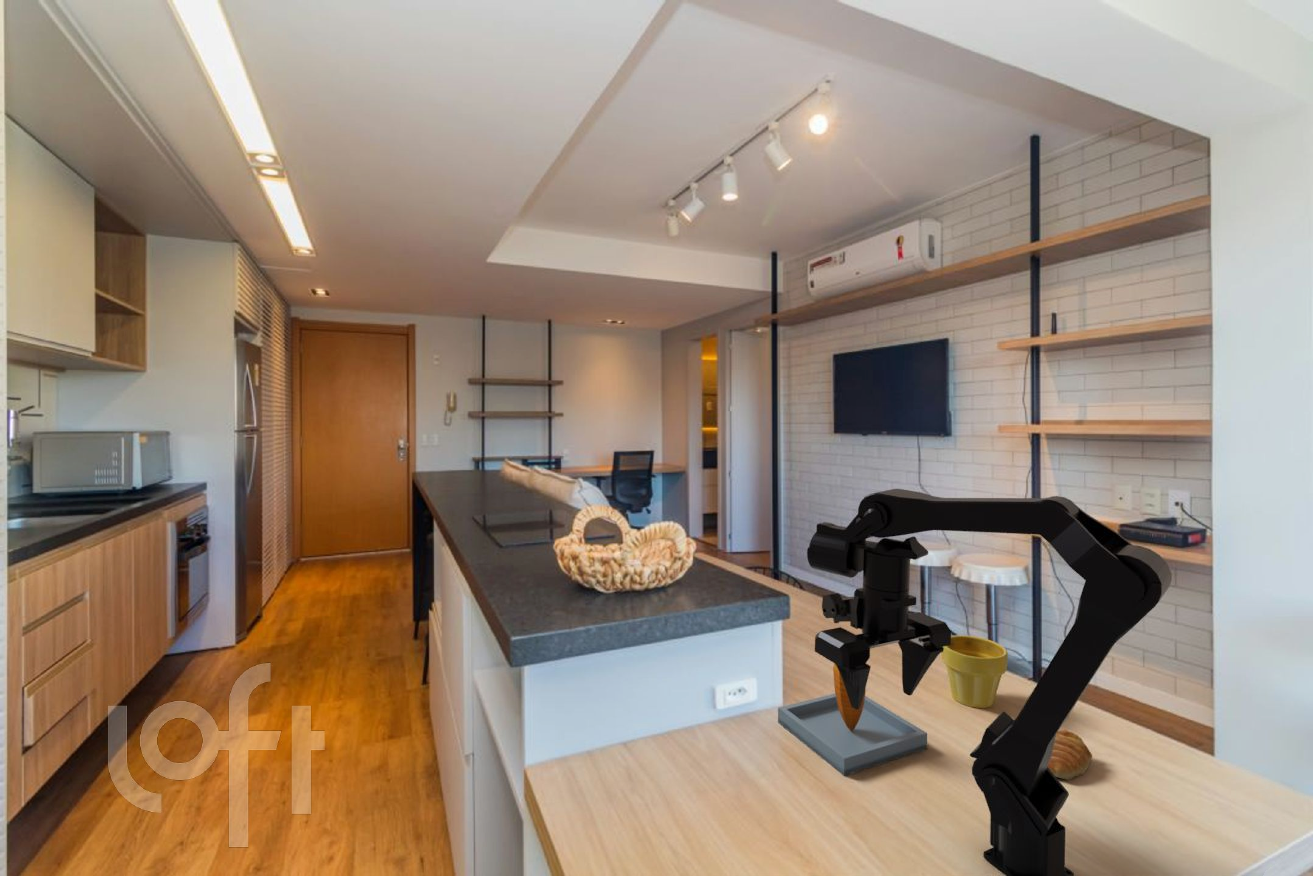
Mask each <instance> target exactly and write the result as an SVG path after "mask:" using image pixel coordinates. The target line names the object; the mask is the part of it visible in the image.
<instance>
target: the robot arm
mask: <svg viewBox="0 0 1313 876" xmlns="http://www.w3.org/2000/svg"><path fill="white" fill-rule="evenodd" d="M931 531H932V532H933V531H946V532H947V531H948V532H969V533H970V532H972V533H991V534H992V533H995V534H996V533H997V534H1016V535H1017V534H1019V535H1037V536H1040V537H1042V538H1043V539H1044V540H1045V541H1046V542H1048V543H1049V544H1050V545H1051V547H1052V548H1053V549H1054V550H1055V551H1056V553H1058V555H1059V556H1060V557H1061V558H1062V559H1063V560H1064V562H1065V563H1066V564H1067V565H1068V566H1069V568H1071V570H1072V571H1074V572H1075V573H1076V574H1077V575H1079V576H1080V578H1082V579H1083V580H1084V581H1085V582H1084V584H1083V587H1082V591H1081V594H1080V595H1079V596H1080V597H1079V600H1078V606H1077V609H1076V615H1075V619H1074V623H1073V624H1072V626H1071V628H1070V630H1069V631H1068V633H1067V635H1066V636H1065V638H1064V639H1063V640H1062V643H1061V644H1060V646H1059V648H1058V650H1057V651H1056V653H1055V654H1054V656H1053V658H1051V661H1050V662H1049V664H1048V666H1047V667H1046V669H1045V671H1044V672H1043V674H1042V675H1041V676H1040V679H1039V681H1038V682H1037V684H1036V686H1035V687H1033V689H1032V692H1031V693H1030V695H1029V696H1028V698H1027V700H1026V701H1025V704H1024V705H1023V706H1022V708H1021V710H1020V711H1019V713H1018V715H1017V716H1016V718H1014V719H1013V718H1012V717H1011V716H1010V715H1009V714H1008V713H1007V712H1006V711H1004V710H1003V711H1002V712H1001V713H1000V714H999V715H998V716H997V717H996V718H995V719H994V720H992V722H991V723H990V724H989V725H988V726H987V727H986V728H985V730H984V732H983V735H982V738H981V741H980V743H979V744H978V745H977V746H976V747H975V748H974V749H973V750H972V751H971V753H969V756H970V757H971V758H974V759H975V760H974V761H973V763H972V767H971V775H972V776H973V777H974V780H975V784H976V785H977V786H978V788H979V790H980V791H981V792H982V793H983V796H984V799H985V802H986V805H987V807H988V811H989V815H990V818H989V819H990V822H989V829H990V830H989V845H990V846H992V847H991V848H989V849H986V850H985V851H983V858H984V859H985V860H986V861H987V862H989V863H990V864H991V865H993V866H994V867H995V868H997V869H998V870H999V871H1001V872H1002V873H1003V874H1005V875H1006V876H1075V873H1074V872H1073V871H1072V870H1071V869H1069V868H1068V867H1066V866H1065V865H1066V826H1064V825H1063V824H1061V823H1060V822H1059V820H1058V814H1059V813H1060V811H1061V809H1062V808H1063V807H1064V804H1065V803H1066V802H1067V799H1068V798H1069V795H1070V793H1069V791H1068V790H1067V789H1066V787H1064V785H1063V784H1062V783H1061V782H1060V780H1059V779H1058V777H1055V776H1054V774H1053V773H1052V772H1051V771H1050V770H1049V768H1048V764H1049V761H1050V758H1051V755H1052V751H1053V746H1054V741H1055V737H1056V734H1057V732H1058V730H1060V729H1061V727H1062V726H1063V724H1064V723H1065V722H1066V720H1067V718H1068V717H1069V715H1070V714H1071V712H1072V710H1073V709H1074V707H1075V706H1076V704H1077V703H1078V701H1079V700H1080V698H1081V697H1082V694H1084V691H1086V689H1087V687H1089V684H1090V683H1091V681H1092V679H1093V678H1094V677H1095V675H1096V673H1097V672H1098V670H1099V669H1100V667H1101V666H1102V664H1103V663H1104V661H1105V659H1106V658H1107V657H1108V654H1109V653H1110V652H1111V650H1112V649H1113V647H1114V646H1115V644H1116V643H1117V642H1118V641H1119V640H1120V639H1122V638H1123V637H1124V636H1125V635H1126V634H1127V633H1128V632H1129V631H1131V630H1132V629H1133V628H1135V627H1136V625H1137V624H1138V623H1139V622H1140V621H1141V620H1143V618H1145V617H1146V616H1147V614H1149V613H1150V612H1152V610H1153V609H1154V608H1156V606H1157V605H1158V603H1159V602H1160V601H1161V600H1162V598H1163V596H1164V595H1165V594H1166V592H1167V591H1168V590H1169V588H1170V586H1171V584H1172V581H1173V579H1172V575H1173V574H1172V571H1171V569H1170V567H1169V564H1168V563H1167V561H1166V560H1165V559H1164V558H1163V557H1162V556H1161V555H1160V554H1158V553H1157V552H1155V551H1154V550H1152V549H1150V548H1148V547H1145V546H1141V545H1137V544H1132V543H1131V542H1130V541H1129V540H1128V539H1126V538H1125V537H1124V536H1122V535H1121V534H1120V533H1118V532H1117V531H1116V530H1114V529H1112V528H1110V527H1109V526H1107V524H1104V523H1102V521H1099V519H1096V518H1094V517H1093V516H1091V515H1090V514H1088V513H1086V512H1085V511H1084V510H1083V509H1081V507H1079V506H1078V505H1076V503H1074V502H1073V501H1072V500H1071V499H1070V498H1067V497H1064V496H1059V495H1054V496H1049V497H1043V498H1042V497H1036V498H1035V497H1027V498H1026V497H1025V498H1024V497H1015V498H1014V497H941V496H935V495H932V494H928V493H924V492H921V491H916V490H915V491H914V490H909V489H903V488H893V489H886V490H883V491H877V492H871V493H868V494H866V495H865V496H864V497H863V498H862V500H861V501H860V503H859V506H858V508H857V514H856V515H855V517H854V518H853V519H852V520H851V521H850V523H849V524H848V525H847V526H843V525H841V526H840V525H836V524H835V523H831V522H827V521H824V522H819V523H817V524H816V531H815V532H814V534H813V536H812V537H811V539H810V542H809V546H808V547H807V550H806V551H807V552H806V557H807V561H808V564H809V566H810V567H811V568H812V569H813V570H817V571H820V572H821V571H822V572H824V573H825V572H826V573H830V574H833V575H839V576H842V577H846V578H849V579H851V578H854V577H856V576H857V575H858V573H861V572H862V587H859V588H856V589H855V590H854V592H853V596H848V597H843V598H842V596H841V594H840V593H839V592H838V593H828V594H823V595H822V601H821V610H822V615H823V616H824V618H825V619H832V620H833V623H834V624H839V623H841V622H842V623H843V622H845V623H846V622H850V624H849V625H850V627H851V628H854V629H856V630H858V629H860V630H861V633H858V634H855V633H853V632H851V631H849V630H847V629H845V628H843V627H841V626H840V627H835V628H830V629H829V628H828V629H823V630H821V631H819V632H818V633H816V634H815V636H814V652H815V653H817V654H818V655H820V656H822V657H824V658H825V659H827V660H828V661H830V662H831V663H833V664H834V663H835V665H836V666H837V668H838V670H839V672H840V674H841V677H842V680H843V683H844V686H845V689H846V692H847V695H848V698H849V701H850V704H851V706H852V707H853V708H855V709H856V710H858V709H860V706H861V703H862V700H863V696H864V692H865V688H866V687H867V683H868V679H869V675H870V671H871V665H869V664H868V663H867V662H868V661H869V660H870V658H871V650H872V649H875V648H880V647H883V646H888V645H894V644H898V646H899V648H900V650H901V682H902V683H901V684H902V692H903V693H904V694H905V695H907V696H913V694H914V692H915V691H916V689H917V687H918V685H919V684H920V683H921V681H922V679H923V677H924V676H925V674H926V673H927V671H928V670H929V668H930V667H932V664H933V663H934V662H935V661H936V659H937V657H939V655H940V654H941V653H942V652H943V651H944V648H943V647H944V646H948V645H951V636H952V631H951V629H950V628H949V625H948V624H947V622H945V621H943V620H941V619H938V618H935V617H933V616H930V615H928V614H925V613H923V612H920V611H918V612H913V613H912V612H911V613H909V608H910V607H912V606H917V596H914V595H913V594H912V595H911V594H910V582H911V581H910V579H911V576H910V575H911V560H915V561H916V560H918V559H921V558H923V557H926V556H928V555H929V551H928V549H927V548H925V546H924V545H922V544H921V543H920V542H919V541H918V539H917V537H916V536H914V535H913V534H918V533H922V532H923V533H925V532H931ZM905 535H907V536H908V535H913V536H910V537H907V538H905V540H900V539H892V538H891V537H898V536H899V537H900V536H905ZM873 537H874V538H879V539H880V540H879V541H878V542H876V541H871V540H866V539H869V538H870V539H871V538H873ZM865 693H866V692H865Z"/></svg>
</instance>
